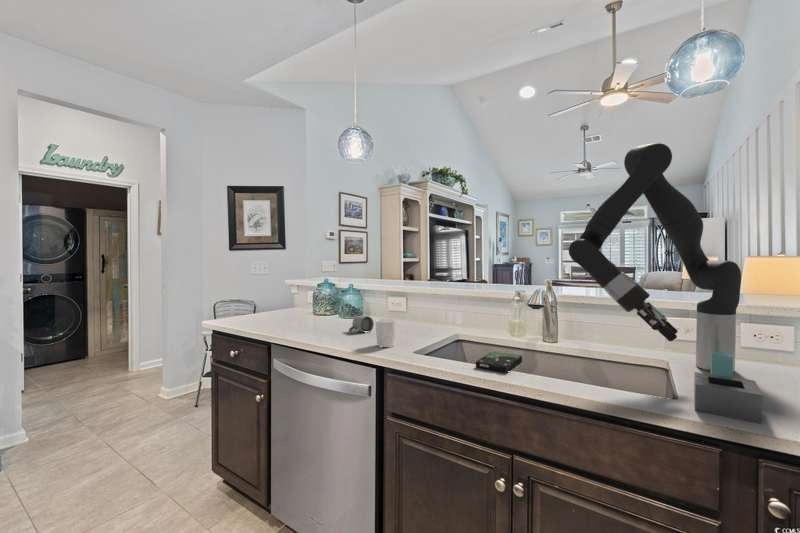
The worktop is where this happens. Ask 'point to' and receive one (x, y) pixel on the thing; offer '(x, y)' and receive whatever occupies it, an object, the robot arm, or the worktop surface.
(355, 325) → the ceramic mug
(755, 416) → the socket block
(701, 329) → the robot arm
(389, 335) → the white cup
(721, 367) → the teal peg
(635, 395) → the worktop surface
